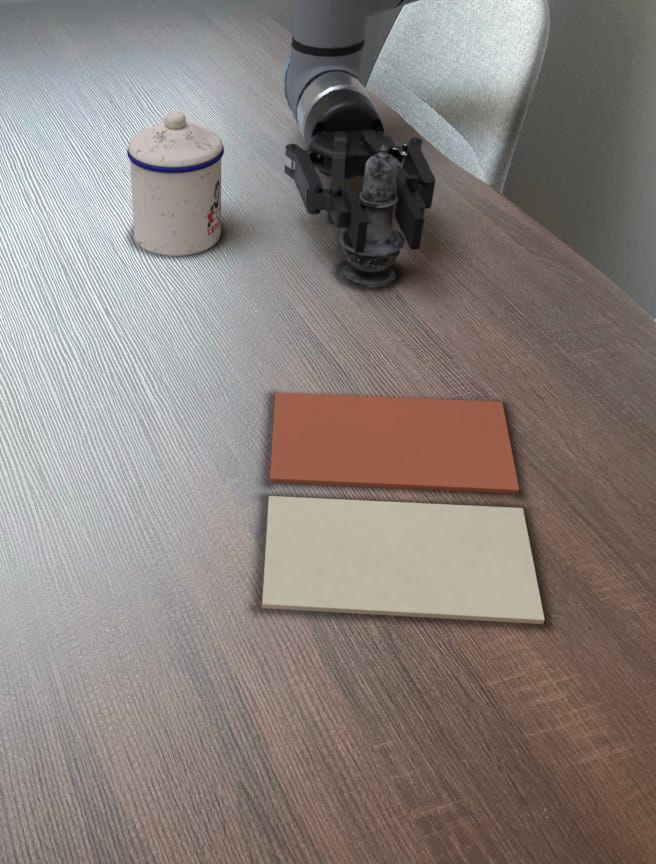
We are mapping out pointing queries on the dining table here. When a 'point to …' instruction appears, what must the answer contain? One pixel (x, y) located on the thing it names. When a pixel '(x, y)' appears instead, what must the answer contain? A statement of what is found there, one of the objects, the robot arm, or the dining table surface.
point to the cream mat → (400, 560)
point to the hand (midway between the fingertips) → (389, 235)
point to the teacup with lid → (176, 187)
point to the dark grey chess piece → (375, 226)
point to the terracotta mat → (392, 443)
